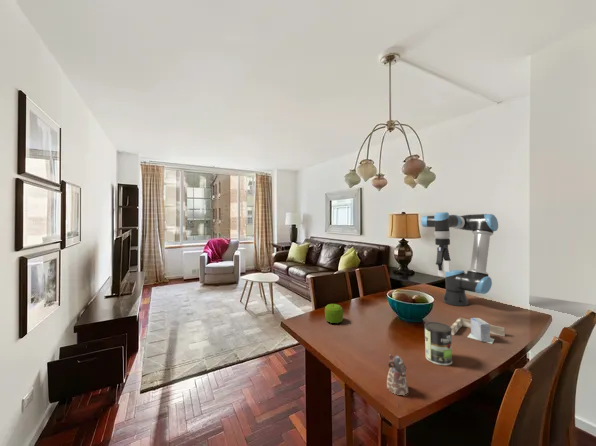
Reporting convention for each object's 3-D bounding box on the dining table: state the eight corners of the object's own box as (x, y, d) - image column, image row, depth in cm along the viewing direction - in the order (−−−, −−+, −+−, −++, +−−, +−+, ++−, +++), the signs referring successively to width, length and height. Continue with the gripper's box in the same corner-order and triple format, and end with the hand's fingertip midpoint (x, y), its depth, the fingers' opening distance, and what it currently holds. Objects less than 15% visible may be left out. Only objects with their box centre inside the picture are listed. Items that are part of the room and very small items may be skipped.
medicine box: (490, 341, 120) (490, 323, 120) (481, 341, 120) (480, 324, 120) (479, 334, 128) (479, 317, 128) (470, 334, 128) (470, 317, 128)
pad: (470, 333, 130) (470, 332, 130) (494, 339, 122) (494, 338, 122) (467, 337, 126) (467, 336, 126) (492, 343, 118) (492, 343, 118)
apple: (347, 322, 148) (346, 304, 148) (333, 327, 142) (333, 308, 142) (334, 316, 158) (333, 299, 158) (321, 321, 152) (320, 303, 152)
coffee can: (458, 361, 105) (457, 328, 104) (441, 368, 100) (440, 333, 100) (435, 350, 114) (435, 320, 114) (419, 355, 110) (419, 324, 110)
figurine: (404, 399, 84) (403, 363, 84) (383, 390, 88) (382, 356, 88) (411, 388, 89) (410, 355, 89) (391, 380, 94) (390, 348, 94)
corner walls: (459, 324, 141) (459, 317, 141) (504, 335, 126) (504, 327, 126) (450, 334, 129) (450, 326, 129) (499, 347, 115) (499, 339, 115)
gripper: (441, 236, 159) (442, 269, 159) (429, 240, 141) (430, 277, 141) (454, 236, 154) (456, 270, 154) (443, 240, 136) (445, 278, 136)
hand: (443, 273), depth 148 cm, fingers open, 13 cm apart
